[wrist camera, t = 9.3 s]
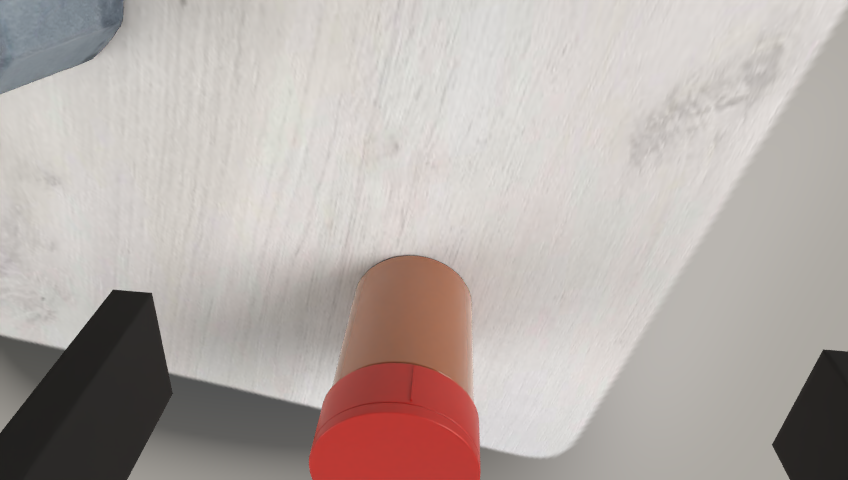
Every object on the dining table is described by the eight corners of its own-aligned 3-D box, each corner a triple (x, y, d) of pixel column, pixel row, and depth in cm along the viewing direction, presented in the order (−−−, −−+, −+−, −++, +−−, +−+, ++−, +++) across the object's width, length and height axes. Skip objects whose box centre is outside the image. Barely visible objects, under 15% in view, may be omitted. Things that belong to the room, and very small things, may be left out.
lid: (331, 347, 28) (318, 396, 26) (497, 378, 29) (500, 429, 26) (313, 458, 32) (300, 510, 30) (459, 484, 33) (458, 537, 30)
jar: (496, 302, 38) (508, 458, 28) (419, 366, 41) (405, 526, 31) (405, 233, 36) (384, 376, 26) (331, 306, 39) (286, 459, 29)
